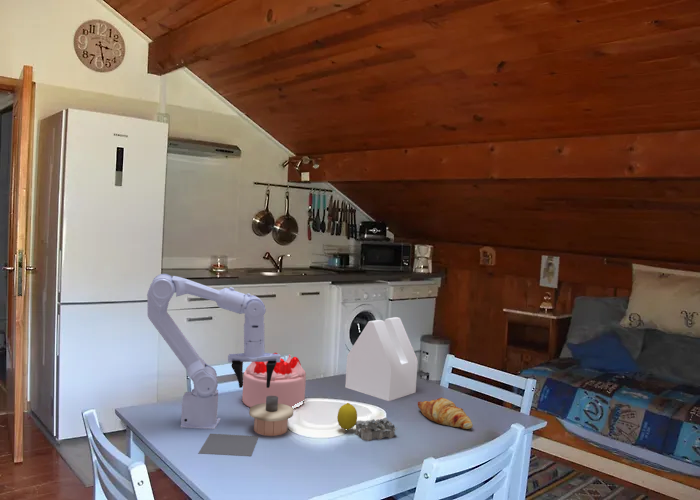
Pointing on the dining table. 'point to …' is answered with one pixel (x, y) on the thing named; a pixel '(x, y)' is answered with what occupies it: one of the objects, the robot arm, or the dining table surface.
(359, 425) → the egg carton
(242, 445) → the mat
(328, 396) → the dining table surface
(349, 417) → the lemon
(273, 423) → the bucket
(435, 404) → the croissant
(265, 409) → the lid
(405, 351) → the white house-shaped block
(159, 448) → the dining table surface
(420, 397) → the dining table surface
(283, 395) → the cake
